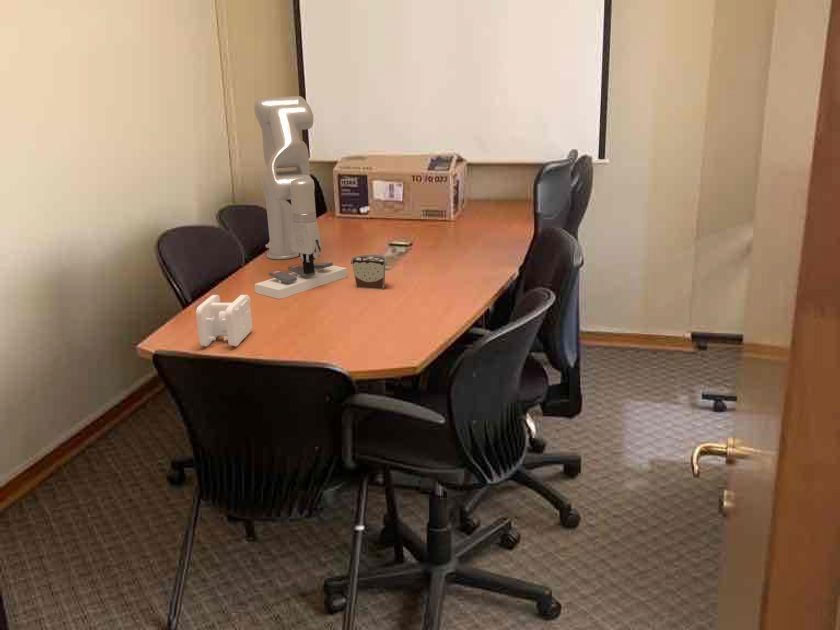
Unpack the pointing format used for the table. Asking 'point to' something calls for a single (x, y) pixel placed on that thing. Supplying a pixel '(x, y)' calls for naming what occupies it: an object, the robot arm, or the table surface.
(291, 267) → the rocker
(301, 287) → the rocker switch panel
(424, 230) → the table surface
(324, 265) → the rocker
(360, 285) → the food container
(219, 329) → the cable organizer
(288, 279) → the rocker
